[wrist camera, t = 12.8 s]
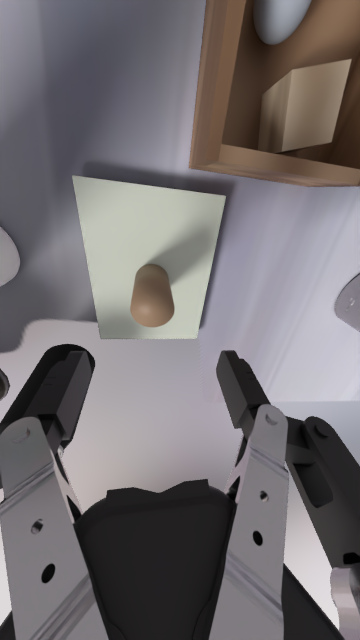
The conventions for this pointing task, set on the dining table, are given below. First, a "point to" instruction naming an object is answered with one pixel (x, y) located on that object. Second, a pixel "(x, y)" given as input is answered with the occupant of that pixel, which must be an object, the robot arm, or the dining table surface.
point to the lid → (147, 256)
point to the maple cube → (302, 108)
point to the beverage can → (36, 381)
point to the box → (260, 75)
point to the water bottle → (8, 258)
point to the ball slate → (278, 18)
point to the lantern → (3, 385)
